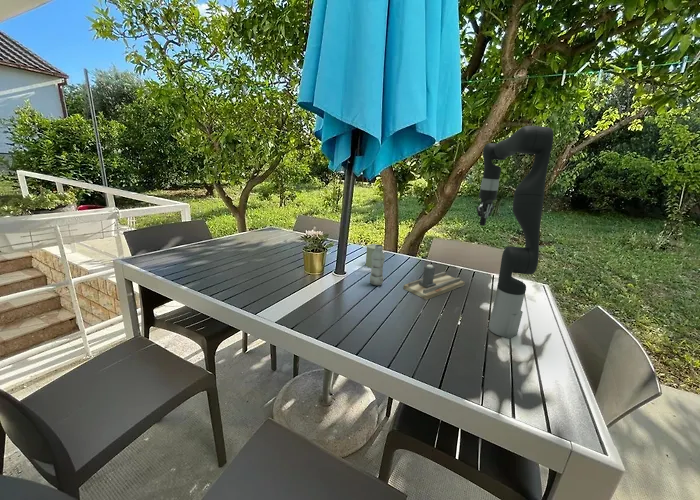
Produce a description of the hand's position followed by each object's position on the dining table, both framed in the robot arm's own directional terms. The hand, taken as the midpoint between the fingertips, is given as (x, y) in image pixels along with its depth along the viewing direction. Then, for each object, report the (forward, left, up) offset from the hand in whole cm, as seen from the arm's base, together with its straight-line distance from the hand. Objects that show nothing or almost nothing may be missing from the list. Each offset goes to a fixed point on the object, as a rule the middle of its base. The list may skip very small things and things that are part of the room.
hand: (482, 225), depth 150 cm
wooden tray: (+9, +18, -32) cm, 38 cm away
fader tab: (+9, +24, -29) cm, 39 cm away
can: (+48, +24, -32) cm, 63 cm away
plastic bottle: (+27, +41, -32) cm, 59 cm away
